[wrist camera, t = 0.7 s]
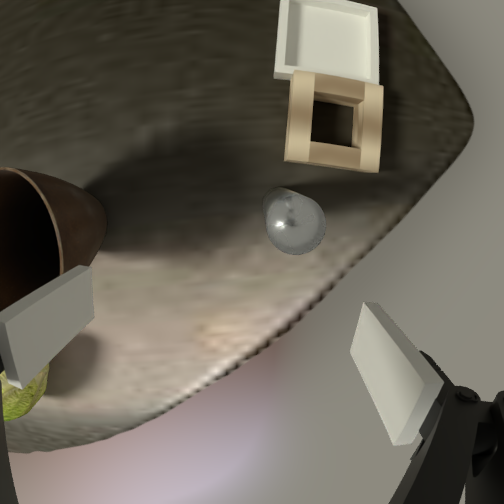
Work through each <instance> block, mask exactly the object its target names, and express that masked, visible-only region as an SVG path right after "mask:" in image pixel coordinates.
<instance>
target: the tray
mask: <svg viewBox="0 0 504 504" xmlns="http://www.w3.org/2000/svg"><path fill="white" fill-rule="evenodd" d="M294 70H301V71H308V72H315V73H321V74H327V75H333V76H339V77H344V78H349V79H354V80H359V81H363V82H368V83H372V84H377V85H379V38H378V15H377V8H375V7H371V6H367V5H363V4H359V3H355V2H351V1H346V0H280V9H279V21H278V33H277V45H276V57H275V69H274V79H284V80H291V78H292V75H293V72H294Z"/></svg>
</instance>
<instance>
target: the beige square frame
mask: <svg viewBox="0 0 504 504" xmlns="http://www.w3.org/2000/svg"><path fill="white" fill-rule="evenodd" d="M313 100H314V101H321V102H327V103H333V104H339V105H345V106H350V107H354V115H353V131H352V144H351V147H345V146H339V145H333V144H326V143H319V142H311V141H310V137H311V125H312V112H313ZM382 115H383V86H381V85H377V84H372V83H368V82H363V81H359V80H354V79H349V78H344V77H339V76H333V75H327V74H321V73H315V72H308V71H301V70H294V72H293V75H292V78H291V83H290V96H289V108H288V121H287V132H286V144H285V155H284V162H293V163H302V164H310V165H318V166H325V167H332V168H339V169H346V170H353V171H359V172H365V173H378V172H379V161H380V149H381V134H382Z"/></svg>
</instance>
